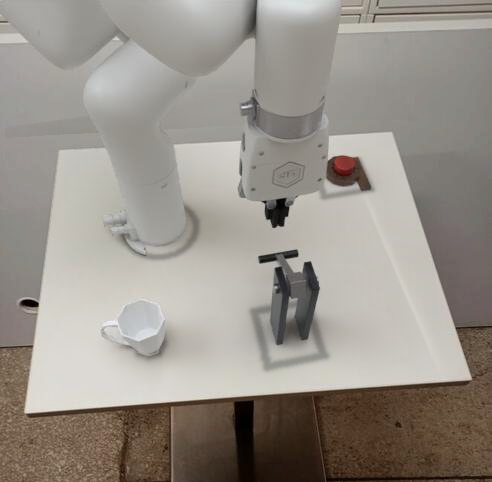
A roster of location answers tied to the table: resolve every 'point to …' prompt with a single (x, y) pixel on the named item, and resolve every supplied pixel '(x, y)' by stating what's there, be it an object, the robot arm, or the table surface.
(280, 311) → the bracket
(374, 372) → the table surface
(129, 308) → the cup
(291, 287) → the lever
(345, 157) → the button
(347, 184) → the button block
